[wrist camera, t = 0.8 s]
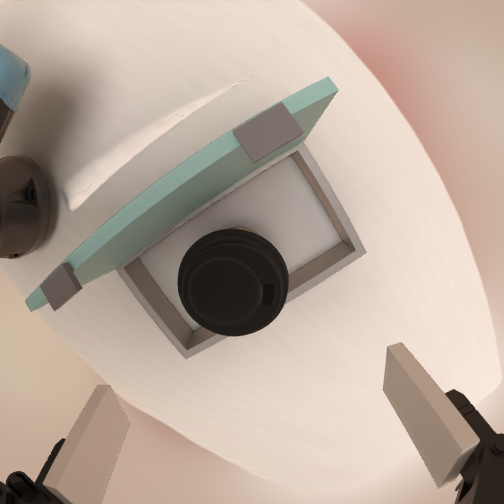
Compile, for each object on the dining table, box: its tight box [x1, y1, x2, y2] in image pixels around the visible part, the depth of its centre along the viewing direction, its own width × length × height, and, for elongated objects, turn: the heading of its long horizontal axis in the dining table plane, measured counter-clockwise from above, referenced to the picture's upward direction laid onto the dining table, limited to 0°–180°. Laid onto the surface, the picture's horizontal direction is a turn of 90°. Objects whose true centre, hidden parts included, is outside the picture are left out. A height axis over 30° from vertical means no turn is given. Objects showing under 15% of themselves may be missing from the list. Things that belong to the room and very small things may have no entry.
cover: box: [25, 76, 338, 312], centre depth 23 cm, size 16×26×2 cm
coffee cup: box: [178, 227, 289, 336], centre depth 30 cm, size 9×9×15 cm
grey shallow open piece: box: [115, 142, 367, 359], centre depth 35 cm, size 15×26×5 cm, turn 123°
